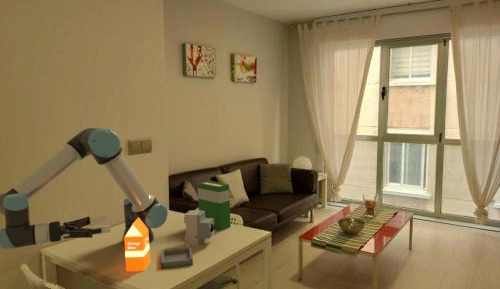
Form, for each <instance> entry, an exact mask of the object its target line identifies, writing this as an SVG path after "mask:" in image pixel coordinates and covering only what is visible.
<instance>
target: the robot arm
mask: <svg viewBox="0 0 500 289" xmlns="http://www.w3.org/2000/svg"><path fill="white" fill-rule="evenodd" d="M120 139H121V138H120V137H119V135H118V134H117V133H116V132H115V131H113V130H112V129H108V128H105V127H99V128H98V127H97V128H96V127H89V128H88V127H87V128H85V129H83V130H81V131H79V132H78V133H77V134H76V135H75V136H73V137H72V138H70V139H69V140H68V141H66V143H64V147H63V148H62V149H61V150H60V151H58V152H57V153H55V154H54V155H53V156H52V157H50V158H49V159H48V160H47V161H45V162H43V164H41V165H40V166H39V167H37V169H35V170H34V171H33V172H31V173H30V174H29V175H27V176H26V177H24V179H22V180H21V181H20V182H18V183H17V184H16V185H15V186H13V187H12V188H11V189H9V190H8V191H7V192H5V193H1V194H0V214H1V215H2V216H4V220H5V221H4V222H5V223H4V224H5V227H4V228H2V229H0V248H1V249H2V250H8V249H17V248H24V247H29V246H30V247H31V246H37V245H39V246H43V244H47V243H49V242H50V243H55V242H61V241H62V238H63V239H83V238H84V239H85V238H86V239H87V238H89V239H91V238H93V236H96V235H102V234H107V233H112V229H111V224H108V216H107V215H104V216H97V217H90V216H86V217H82V218H79V219H75V220H71V221H67V222H66V221H65V222H63V223H62V225H61V221H59V220H58V221H57V220H55V221H51V222H49V223H47V222H41V223H35V224H31V220H30V207H29V205H30V202H29V201H30V200H31V199H32V198H33V197H34V196H36V195H37V194H39V193H40V191H42V190H43V189H44V188H46V186H47V185H49V184H51V182H53V181H54V180H55V179H56V178H58V177H59V176H60V175H61V174H62V173H64V172H65V171H67V169H68V168H70V167H72V166H73V165H74V164H75V163H76V162H77V161H79V162H80V161H82V160H83V159H85V158H86V157H89V156H92V157H93V159H94V160H95V162H96V163H97V165H99V166H104V168H105V169H106V171H107V172H108V173H109V174H110V176H111V177H112V178H113V181H114V182H115V183H116V184H117V185H118V186H119V188H120V189H121V191H122V192H123V194H124V195H125V196H126V198H124V199H123V206H122V207H123V212H124V213H123V214H124V230H123V231H124V232H123V236H122V239H121V240H122V245H124V246H125V242H124V237H125V236H126V234H127V232H128V231H129V229H130V228H131V226H132V225H133V223H134V222H135V221H136V220H137V219H138V218H140V220H141V221H142V222H143V223H144V225H145V226H146V227H147V228H148V233H149V244H150V243H152V242H153V241H154V240H155V234H154V232H153V229H158V228H161V227H162V226H163V225H164V224H165V223H166V220H167V217H168V216H169V214H168V209H167V207H166V206H165V205H164V204H163V203H160V202H159V201H158V199H157V198H156V197H155V195H154V194H152V193H149V192H148V191H147V189H146V187H145V186H144V185H143V183H142V182H141V180H140V179H139V177H138V176H137V175H136V173H135V172H134V170H133V169H132V167H131V166H130V164H129V163H128V161H127V160H126V159H125V157H124V156H123V152H124V150H123V147H122V146H121V144H122V143H121V140H120ZM103 224H106V225H103ZM107 224H108V225H107ZM95 225H99V226H95ZM87 226H93V227H91V228H87ZM85 227H86V228H85Z"/></svg>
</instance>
